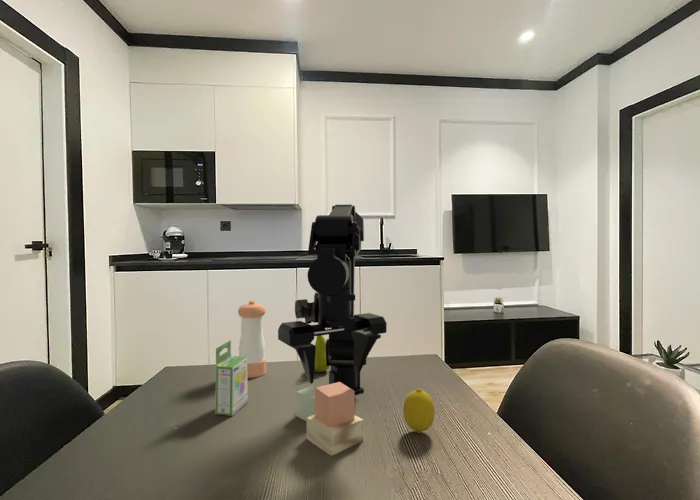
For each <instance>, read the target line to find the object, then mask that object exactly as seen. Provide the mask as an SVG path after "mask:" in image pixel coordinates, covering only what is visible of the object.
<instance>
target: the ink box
mask: <svg viewBox="0 0 700 500" xmlns="http://www.w3.org/2000/svg"><path fill="white" fill-rule="evenodd" d="M231 344H232V340H231V339H230V340H228V341H227V342H225V343H223V344H221V345H219V346H218V347H216V348H215V404H214V405H215V406H214V407H215V409H214V410H215V413H214V414H215V415H216V416H217V415H220V416H227V417H233V416H235V415H236V414H237V413H238V412H239V411H240V410H241V409H242V408H243V406H245V405H246V404H247V403H248V399H249V397H248V395H249V394H248V390H249V389H248V378H247V357H239V355H238V356H234V355H232V345H231ZM224 349H227V351H226V352H224V353H222V354H220V353H221V352H222V351H223V350H224Z"/></svg>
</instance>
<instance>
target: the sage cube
mask: <svg viewBox="0 0 700 500" xmlns="http://www.w3.org/2000/svg"><path fill="white" fill-rule="evenodd" d="M319 386H320V385H318V384H313V385H310V386H308V387H306V388H302V389H300V390H297V391H296V417H297V418H299V419H301V420H303V421H306V422H307V417H309V416H312V415H315V387H319Z"/></svg>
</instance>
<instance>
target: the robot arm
mask: <svg viewBox="0 0 700 500" xmlns="http://www.w3.org/2000/svg"><path fill="white" fill-rule="evenodd" d="M364 226H365V225H364V218H363V217H362V216H361V215H360V214H359V213H358V212H357V211H356V205H353V204H334V205H332V206H331V212H330V213H329V214H327V215H317V216H316V217H315V220H314V221H312V222H311V225H310V227H311V228H310V235H309V242H308V243H309V244H308V251H307V254H308V255H316V256H317V258H316V259H314V261H312V262H311V264H310V265H309V268H308V270H307V281H308V284H309V285H310V287H311V289H312V290H314V291H315V292H314V295H313V301H312V302H309V300H308V299H306V298H305V299H304V298H303V299H297V300H296V301H294V313H295V315H294V316H295V318H296V319H304V321H302V320H295V321H288V322H287V321H286V322H281V324H280V325H279V327H278V329H277V333H278V334H277V340H278V341H280V342H282V343H283V344H286V345H287V346H289V347H291V348H292V349H294V350H295V351H296V353H297V355H298V357H299V361H300V362H301V365H302V368H303V371H304V374H305V376H306V379H307V382H308V383H309V384H310V385H312V384H314V380H315V350H316V346H315V344H313V343H312V342H313V341H314V339H315V337H317V336H321V335H322V336H327V335H328V338H326V339H325V341H326V365H327V366H329V367H330V370H329V371H328V384H333V383H337V382H341V383H342V384H344V385H346V386H347V387H349V388H351V389H352V390H354V395H356V394H359V393H363V392H364V391H365V388H363V387H361V371H362V369H363V367H364V366H366V365H367V359H368V356H369V354H370V352H371V351H372V349H373V347H374V345H375V344H376V342H377V340H379V339H381V338H382V335H381V334H386V333H387V329H388V328H387V325H388V324H387V321H386V320H385V319H386V318H385V317H384V316H381V315H379V314H378V315H377V314H374V313H370V312H367V313H358V314H355V301H356V294H355V271H356V270H355V263H356V262H355V260H356V258H357V256H358V255H359V253H360V252H361V250H362V242H365V227H364ZM312 323H314V324H312ZM315 323H317V324H315Z"/></svg>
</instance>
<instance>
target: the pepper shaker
mask: <svg viewBox="0 0 700 500" xmlns="http://www.w3.org/2000/svg"><path fill="white" fill-rule="evenodd" d="M237 310H238V311H237V313H238V316H239V317H240V321H241V322H240V338H239V345H238V357H247V379H253V378H258V377H261V376H264V375H265V374H266V373H267V358H266V357H265V355H266V354H265V353H266V351H265V350H266V344H265V338H264V333H263V332H264V331H263V322H264V321H263V317H264V316H265V313H266V308H265V306H264V305H263V304H261V303H256V302H255V301H254V300H250V301H249V302H248V303H245V304H242V305H241V306H239V308H238V309H237Z"/></svg>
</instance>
